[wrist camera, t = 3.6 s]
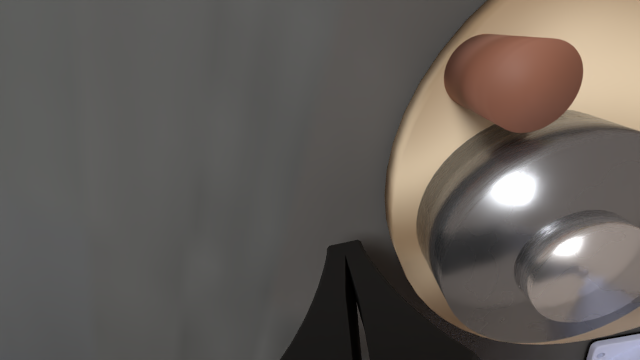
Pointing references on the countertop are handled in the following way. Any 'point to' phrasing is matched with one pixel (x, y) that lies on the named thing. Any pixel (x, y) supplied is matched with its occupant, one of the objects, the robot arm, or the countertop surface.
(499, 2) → the beige round shallow disc
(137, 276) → the countertop surface
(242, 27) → the countertop surface
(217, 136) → the countertop surface
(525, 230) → the cover
